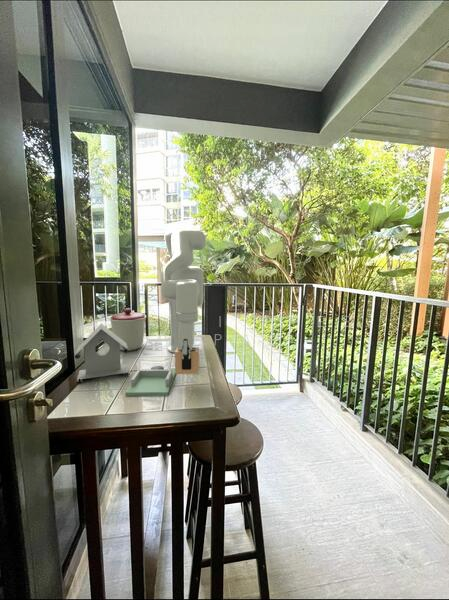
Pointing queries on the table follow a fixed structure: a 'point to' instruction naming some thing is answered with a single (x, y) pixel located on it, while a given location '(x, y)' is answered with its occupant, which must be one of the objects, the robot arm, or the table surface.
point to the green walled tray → (151, 382)
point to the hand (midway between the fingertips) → (187, 365)
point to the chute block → (194, 361)
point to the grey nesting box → (102, 363)
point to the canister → (129, 328)
